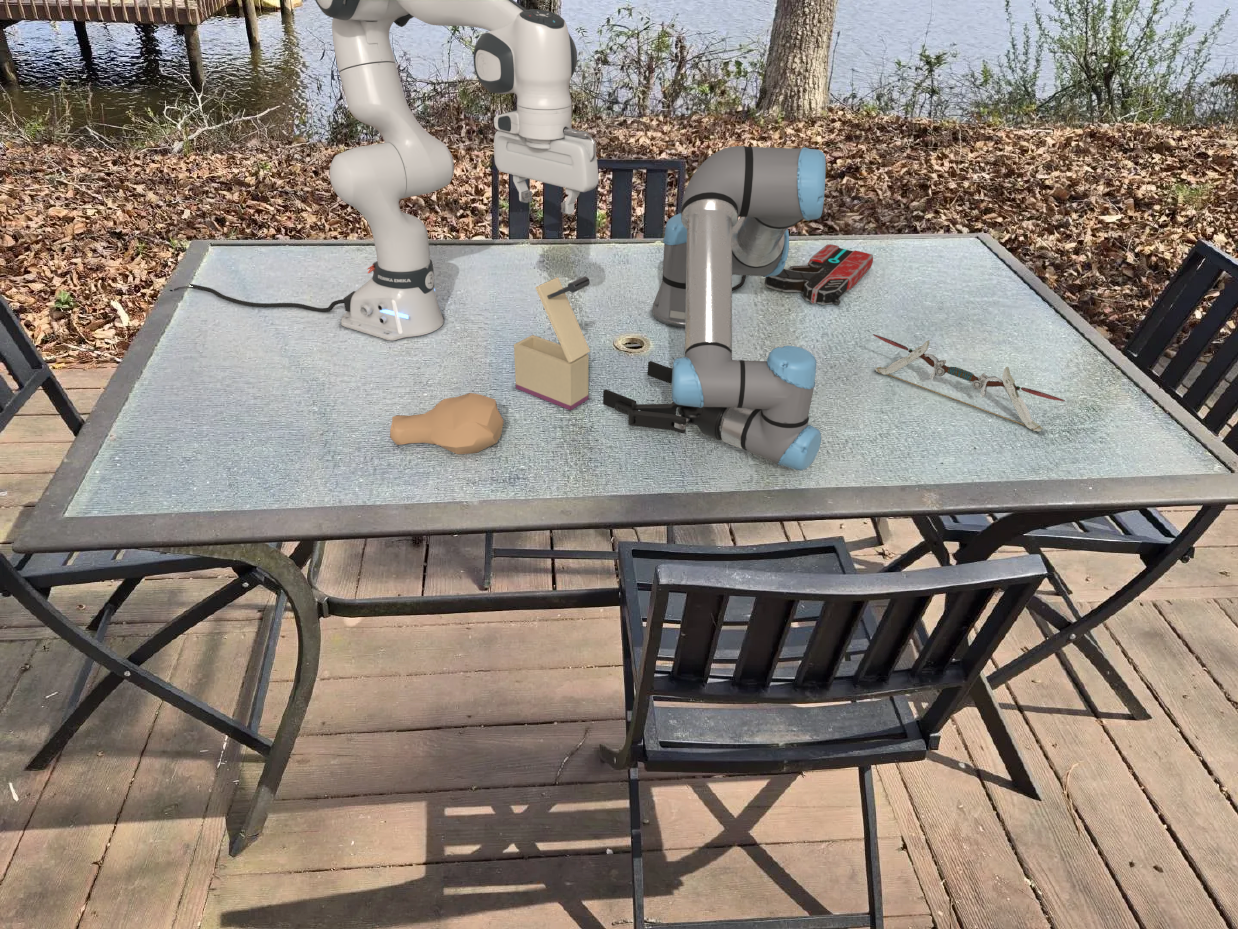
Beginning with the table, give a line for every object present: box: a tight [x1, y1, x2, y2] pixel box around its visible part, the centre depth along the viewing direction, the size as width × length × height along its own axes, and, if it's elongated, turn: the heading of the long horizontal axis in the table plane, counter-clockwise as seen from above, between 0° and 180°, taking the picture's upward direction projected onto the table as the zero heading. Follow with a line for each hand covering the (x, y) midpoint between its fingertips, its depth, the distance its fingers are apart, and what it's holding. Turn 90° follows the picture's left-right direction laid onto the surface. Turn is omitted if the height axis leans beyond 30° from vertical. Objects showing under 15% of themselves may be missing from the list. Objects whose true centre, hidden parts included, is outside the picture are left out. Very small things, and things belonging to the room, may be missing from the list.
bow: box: [872, 333, 1066, 432], centre depth 170 cm, size 39×2×10 cm, turn 47°
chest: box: [513, 334, 590, 411], centre depth 168 cm, size 14×6×10 cm, turn 54°
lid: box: [535, 275, 591, 363], centre depth 158 cm, size 15×6×8 cm
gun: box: [764, 243, 874, 306], centre depth 221 cm, size 4×31×19 cm
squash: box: [389, 392, 505, 455], centre depth 152 cm, size 11×20×9 cm, turn 90°
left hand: (546, 207), depth 151 cm, fingers open, 8 cm apart
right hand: (627, 381), depth 157 cm, fingers open, 13 cm apart
